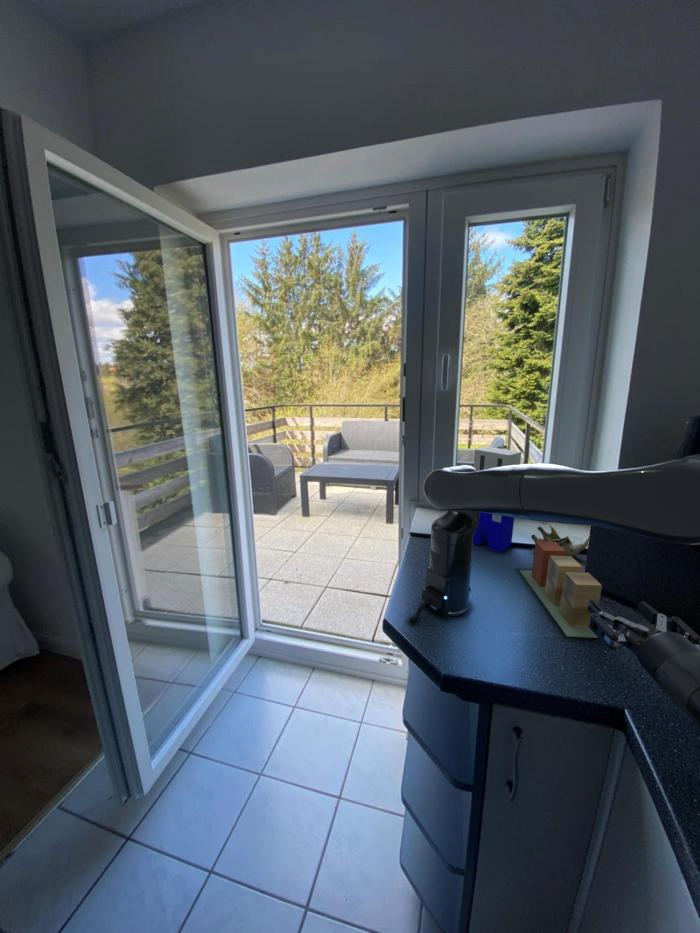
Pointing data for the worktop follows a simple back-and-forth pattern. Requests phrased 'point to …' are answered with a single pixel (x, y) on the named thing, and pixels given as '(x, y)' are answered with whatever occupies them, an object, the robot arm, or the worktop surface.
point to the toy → (492, 525)
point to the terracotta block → (544, 560)
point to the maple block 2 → (578, 597)
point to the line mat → (557, 610)
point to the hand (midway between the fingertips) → (615, 604)
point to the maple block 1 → (559, 575)
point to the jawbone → (560, 542)
